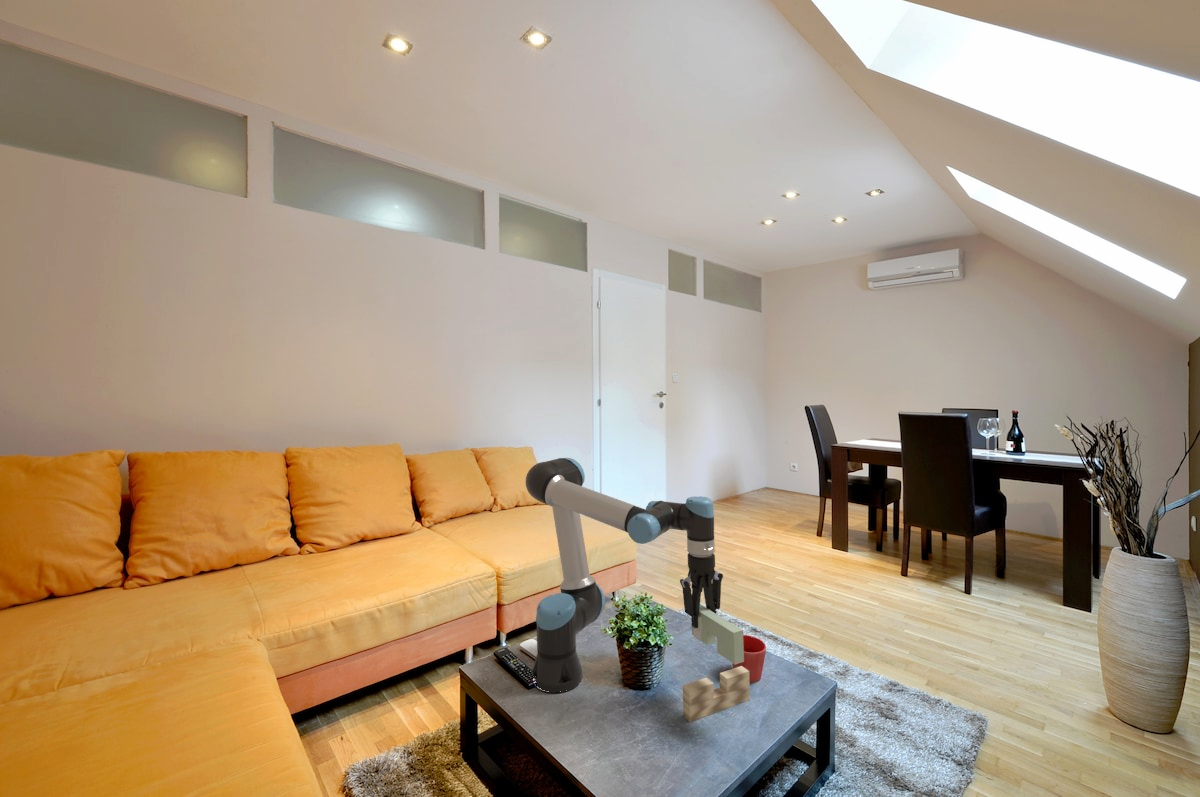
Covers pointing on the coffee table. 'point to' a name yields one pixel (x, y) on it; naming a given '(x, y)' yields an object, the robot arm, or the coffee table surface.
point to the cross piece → (722, 635)
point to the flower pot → (753, 657)
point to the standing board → (715, 694)
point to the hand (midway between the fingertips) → (703, 636)
